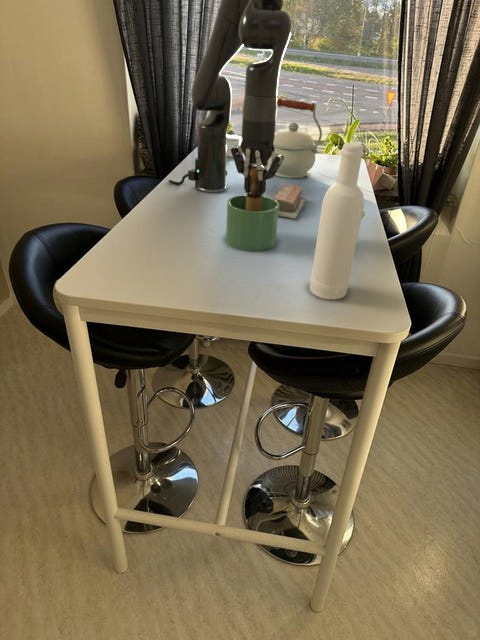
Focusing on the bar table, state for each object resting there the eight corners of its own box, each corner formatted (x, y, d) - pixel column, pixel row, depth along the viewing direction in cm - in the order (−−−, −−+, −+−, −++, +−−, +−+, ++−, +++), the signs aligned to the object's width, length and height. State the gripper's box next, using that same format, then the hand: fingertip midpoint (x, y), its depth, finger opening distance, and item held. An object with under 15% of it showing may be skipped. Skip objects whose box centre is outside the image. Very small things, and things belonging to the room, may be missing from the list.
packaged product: (277, 181, 146) (308, 186, 144) (276, 196, 149) (306, 201, 147) (263, 198, 132) (297, 203, 129) (262, 214, 134) (295, 220, 132)
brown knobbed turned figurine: (246, 244, 114) (250, 171, 104) (234, 234, 119) (237, 164, 109) (268, 240, 117) (275, 169, 107) (256, 231, 122) (261, 161, 112)
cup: (216, 242, 116) (217, 203, 111) (243, 227, 126) (245, 191, 120) (259, 255, 111) (262, 216, 105) (284, 239, 120) (288, 202, 115)
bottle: (353, 298, 96) (385, 149, 79) (318, 302, 94) (344, 150, 77) (336, 280, 102) (362, 139, 86) (303, 283, 100) (323, 139, 84)
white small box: (223, 156, 188) (224, 137, 184) (226, 152, 193) (227, 134, 189) (238, 157, 188) (239, 138, 184) (240, 154, 193) (241, 135, 189)
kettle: (325, 173, 175) (335, 102, 161) (304, 184, 162) (313, 107, 148) (268, 161, 186) (273, 93, 172) (244, 171, 172) (248, 98, 159)
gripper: (294, 119, 102) (286, 196, 111) (242, 111, 108) (238, 184, 117) (278, 124, 96) (271, 203, 106) (224, 114, 102) (222, 191, 112)
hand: (254, 193), depth 111 cm, fingers closed on brown knobbed turned figurine, 2 cm apart
